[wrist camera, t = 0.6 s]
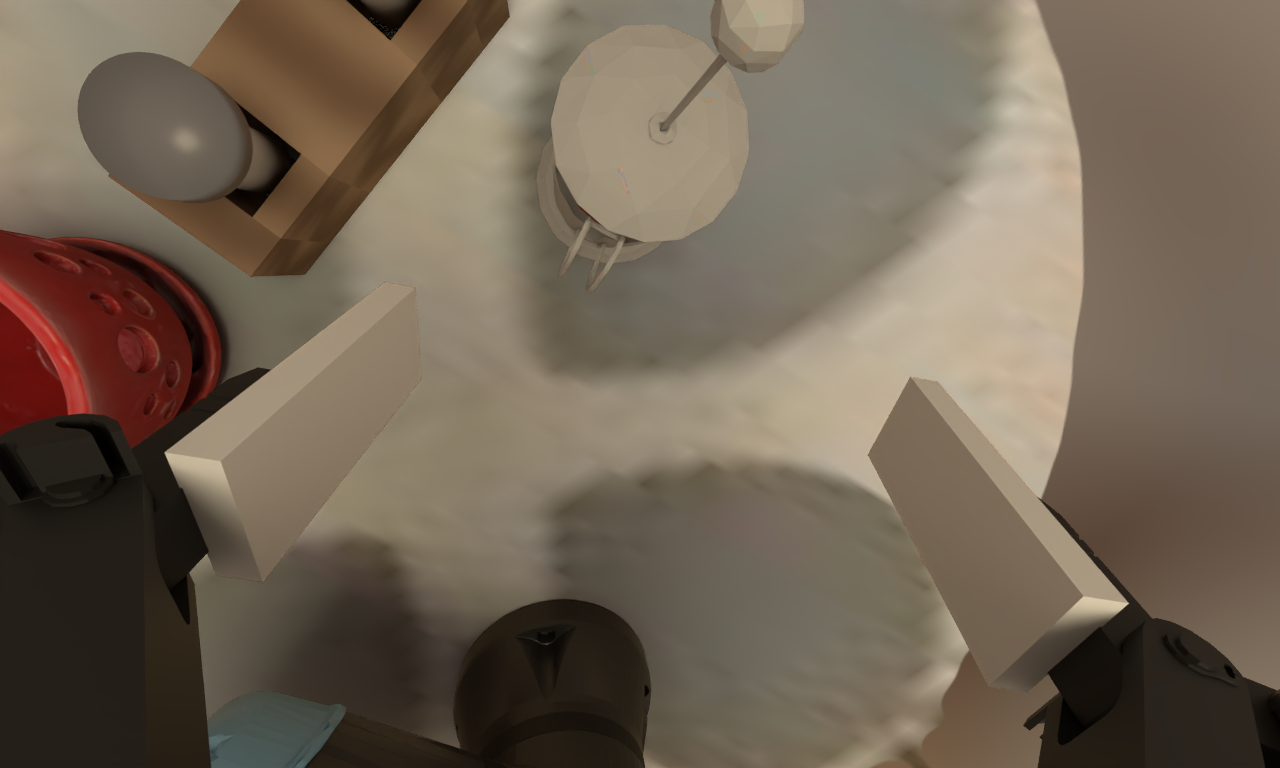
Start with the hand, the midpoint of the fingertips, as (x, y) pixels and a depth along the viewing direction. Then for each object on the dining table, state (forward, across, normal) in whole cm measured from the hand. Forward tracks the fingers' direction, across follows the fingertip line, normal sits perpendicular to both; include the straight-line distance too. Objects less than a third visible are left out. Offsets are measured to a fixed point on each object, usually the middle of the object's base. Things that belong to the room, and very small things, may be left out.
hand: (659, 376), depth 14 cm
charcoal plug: (+16, +21, +1) cm, 26 cm away
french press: (+23, +4, +1) cm, 24 cm away
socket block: (+22, +19, -2) cm, 29 cm away
